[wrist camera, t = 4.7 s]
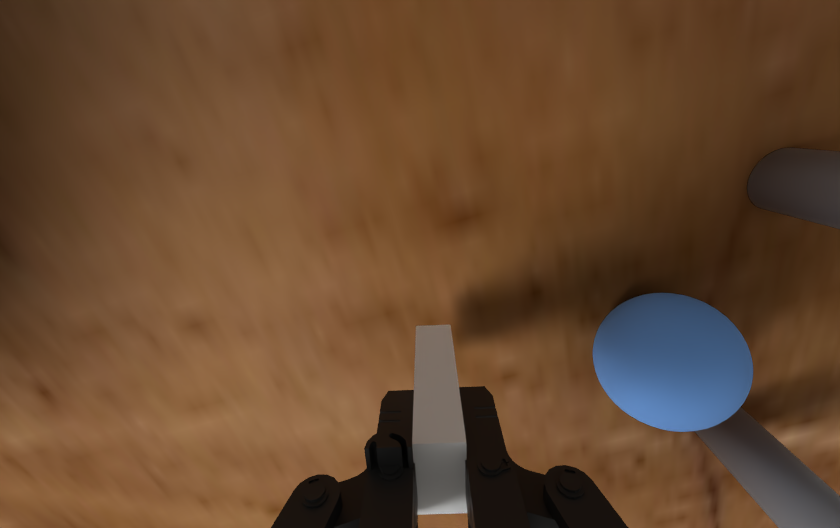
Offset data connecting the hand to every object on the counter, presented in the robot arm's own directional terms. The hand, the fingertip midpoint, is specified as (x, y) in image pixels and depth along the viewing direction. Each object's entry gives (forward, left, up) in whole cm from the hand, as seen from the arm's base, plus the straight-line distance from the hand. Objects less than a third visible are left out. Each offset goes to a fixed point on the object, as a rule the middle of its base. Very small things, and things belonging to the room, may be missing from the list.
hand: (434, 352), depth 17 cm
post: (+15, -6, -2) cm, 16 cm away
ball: (+10, 0, +1) cm, 10 cm away
